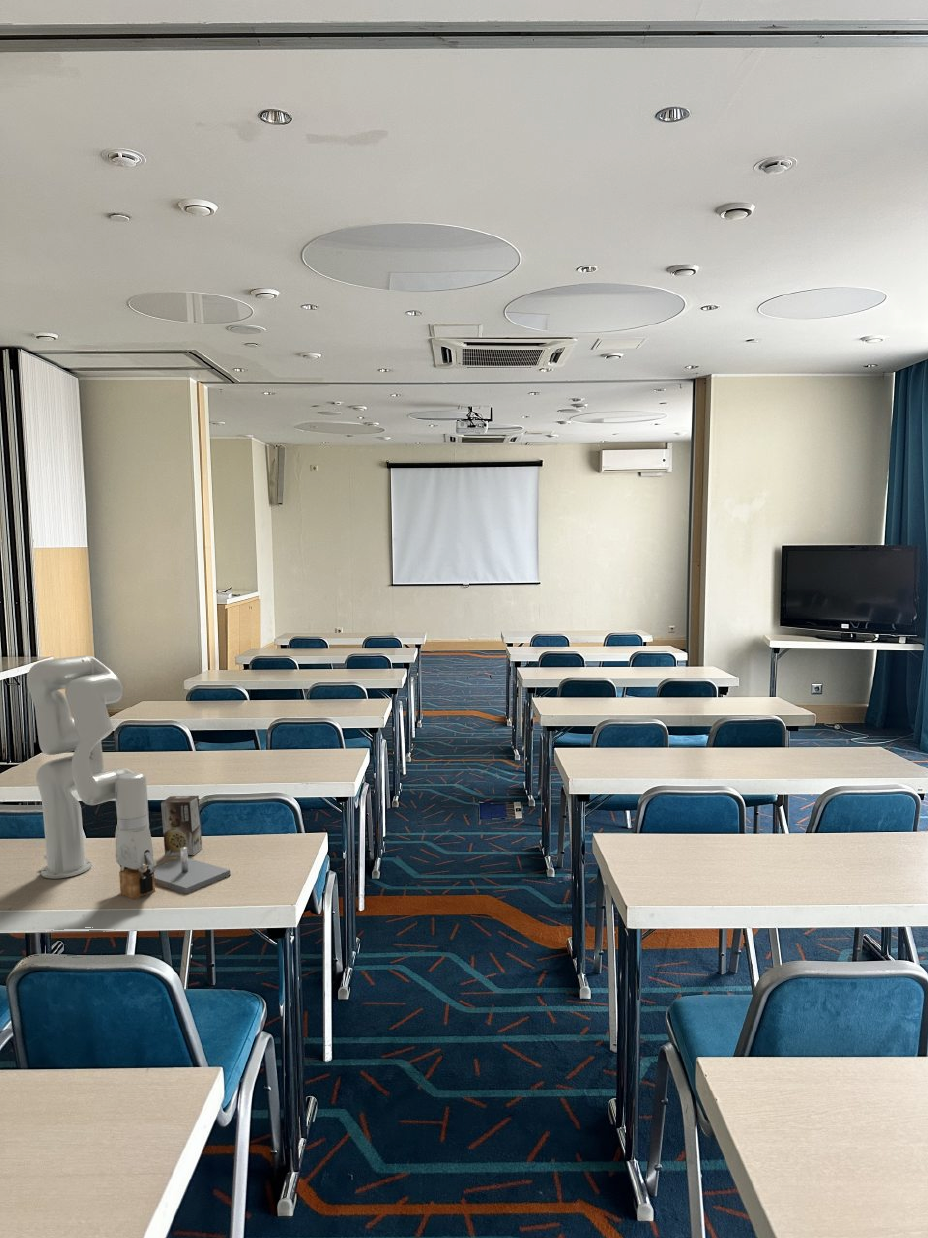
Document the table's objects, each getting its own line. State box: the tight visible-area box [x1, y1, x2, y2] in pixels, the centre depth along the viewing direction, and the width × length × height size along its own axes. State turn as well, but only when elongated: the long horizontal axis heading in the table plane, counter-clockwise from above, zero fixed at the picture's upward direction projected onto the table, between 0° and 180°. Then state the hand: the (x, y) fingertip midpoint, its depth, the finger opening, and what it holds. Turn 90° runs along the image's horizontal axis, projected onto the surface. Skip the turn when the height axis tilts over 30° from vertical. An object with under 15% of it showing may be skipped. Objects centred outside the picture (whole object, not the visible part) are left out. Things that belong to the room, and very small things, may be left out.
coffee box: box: [160, 795, 203, 857], centre depth 241 cm, size 9×6×16 cm
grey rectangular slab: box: [154, 857, 232, 894], centre depth 222 cm, size 20×14×2 cm
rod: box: [180, 847, 189, 873], centre depth 222 cm, size 2×2×6 cm
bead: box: [118, 864, 156, 900], centre depth 212 cm, size 6×6×6 cm
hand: (137, 888), depth 212 cm, fingers open, 7 cm apart
